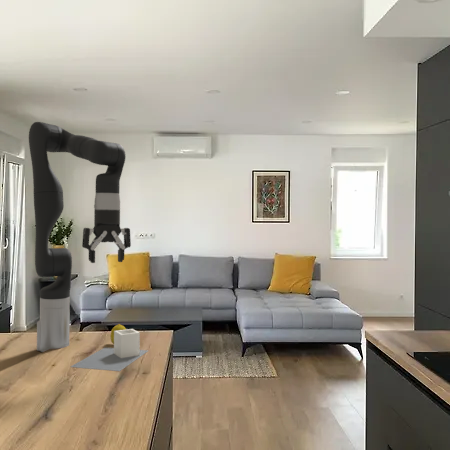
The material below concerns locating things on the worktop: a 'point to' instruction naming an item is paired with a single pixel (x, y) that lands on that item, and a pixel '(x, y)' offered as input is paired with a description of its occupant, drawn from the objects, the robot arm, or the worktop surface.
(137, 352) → the duct collar
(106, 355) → the duct base
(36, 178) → the robot arm
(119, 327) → the lemon
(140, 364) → the worktop surface
